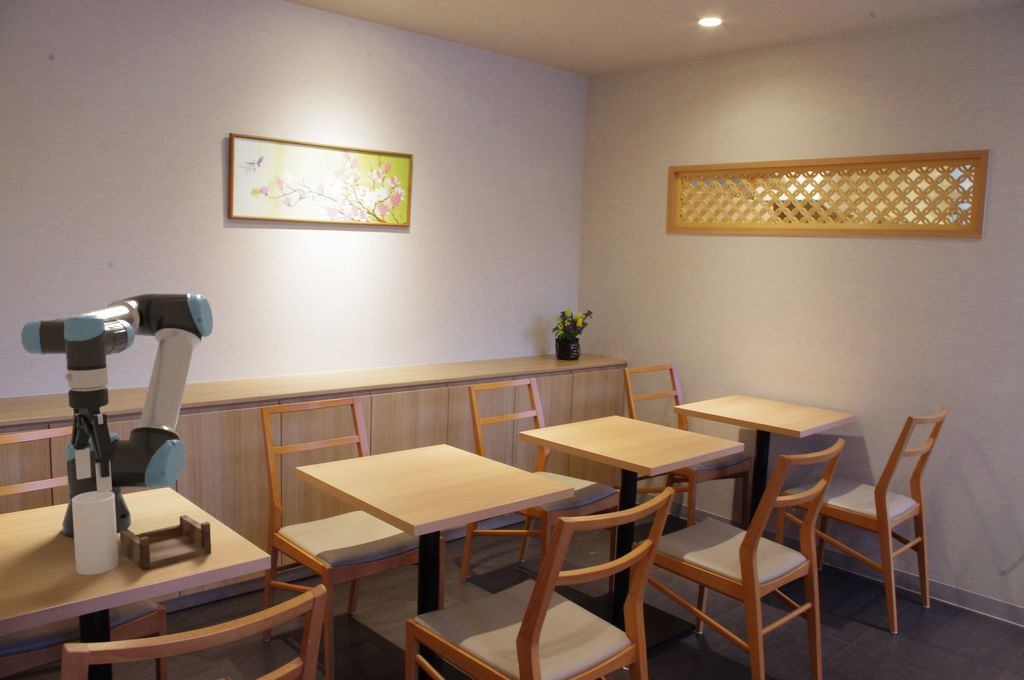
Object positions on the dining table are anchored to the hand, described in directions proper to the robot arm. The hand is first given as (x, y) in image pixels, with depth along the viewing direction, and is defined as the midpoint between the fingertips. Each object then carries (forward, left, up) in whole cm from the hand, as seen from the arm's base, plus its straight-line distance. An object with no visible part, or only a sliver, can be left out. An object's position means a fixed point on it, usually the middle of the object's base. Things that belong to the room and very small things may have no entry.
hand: (94, 484), depth 172 cm
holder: (+2, +14, -19) cm, 23 cm away
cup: (0, 0, -19) cm, 19 cm away
